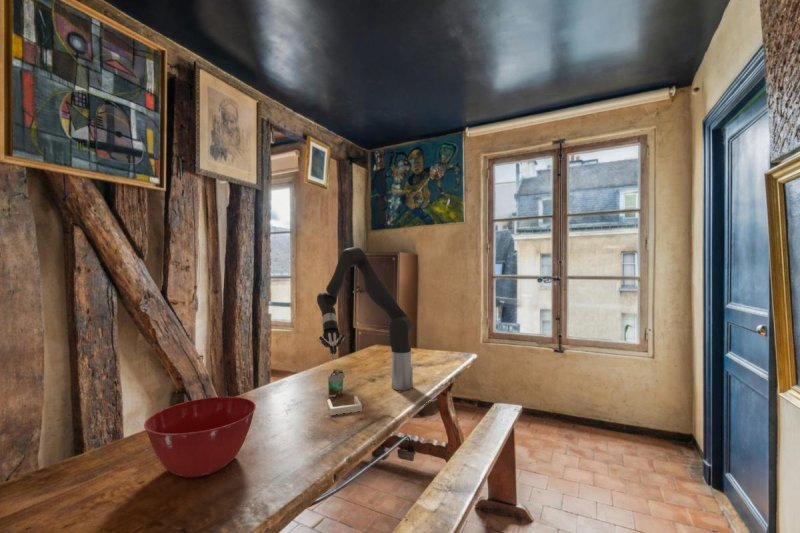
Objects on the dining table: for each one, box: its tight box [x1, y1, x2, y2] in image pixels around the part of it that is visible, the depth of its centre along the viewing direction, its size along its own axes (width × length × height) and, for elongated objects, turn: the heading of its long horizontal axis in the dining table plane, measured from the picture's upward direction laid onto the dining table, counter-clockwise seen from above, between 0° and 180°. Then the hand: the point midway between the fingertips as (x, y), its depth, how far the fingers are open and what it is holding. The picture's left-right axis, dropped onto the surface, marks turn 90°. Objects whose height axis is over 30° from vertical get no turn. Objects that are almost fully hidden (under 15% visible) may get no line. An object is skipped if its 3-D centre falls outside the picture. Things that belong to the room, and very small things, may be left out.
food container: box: [327, 368, 346, 399], centre depth 165 cm, size 12×6×10 cm, turn 179°
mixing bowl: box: [143, 396, 257, 479], centre depth 108 cm, size 28×28×16 cm
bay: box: [326, 395, 363, 416], centre depth 150 cm, size 12×10×2 cm
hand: (333, 353), depth 176 cm, fingers closed
